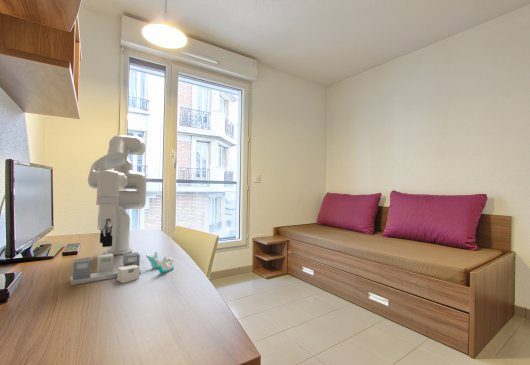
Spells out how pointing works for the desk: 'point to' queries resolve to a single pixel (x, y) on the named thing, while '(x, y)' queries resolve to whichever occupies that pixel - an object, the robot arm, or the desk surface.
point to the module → (105, 262)
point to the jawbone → (161, 263)
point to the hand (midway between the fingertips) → (105, 244)
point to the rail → (84, 268)
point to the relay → (128, 273)
